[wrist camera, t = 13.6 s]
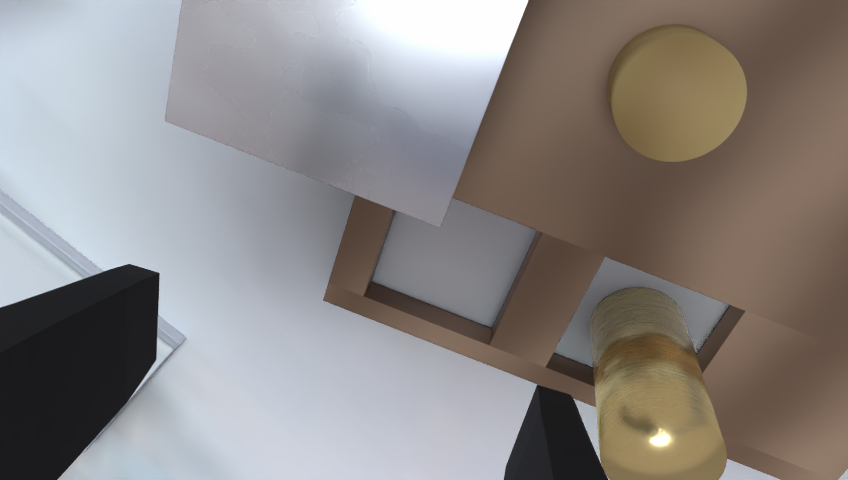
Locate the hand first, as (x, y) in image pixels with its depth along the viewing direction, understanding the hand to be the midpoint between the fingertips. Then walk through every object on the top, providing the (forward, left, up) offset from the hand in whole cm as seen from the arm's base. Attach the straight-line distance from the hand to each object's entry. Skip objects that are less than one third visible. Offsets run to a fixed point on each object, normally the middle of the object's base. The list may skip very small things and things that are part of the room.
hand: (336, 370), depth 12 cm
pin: (-8, +2, -10) cm, 13 cm away
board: (-4, -2, -10) cm, 11 cm away
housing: (+3, -6, -9) cm, 11 cm away
